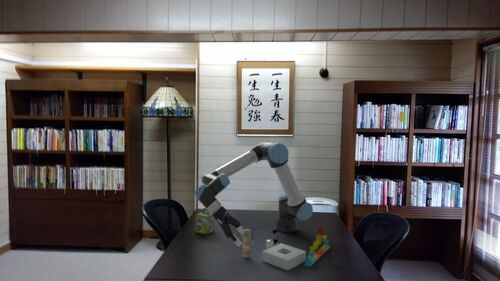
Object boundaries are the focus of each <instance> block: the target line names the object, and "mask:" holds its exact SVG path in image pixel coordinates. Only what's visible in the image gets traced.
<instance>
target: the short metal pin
mask: <svg viewBox="0 0 500 281" xmlns="http://www.w3.org/2000/svg"><path fill="white" fill-rule="evenodd" d="M265 240H266V242H265V243H266V244H265V250H266V249H269V248H271V247H273V246H274V240H273V239H271V238H267V239H265Z"/></svg>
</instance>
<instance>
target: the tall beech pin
mask: <svg viewBox="0 0 500 281" xmlns="http://www.w3.org/2000/svg"><path fill="white" fill-rule="evenodd" d="M251 235H252V231H251V229H247V228H245V229H244V230H243V236H242V258H243V259H249V258H251Z"/></svg>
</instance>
